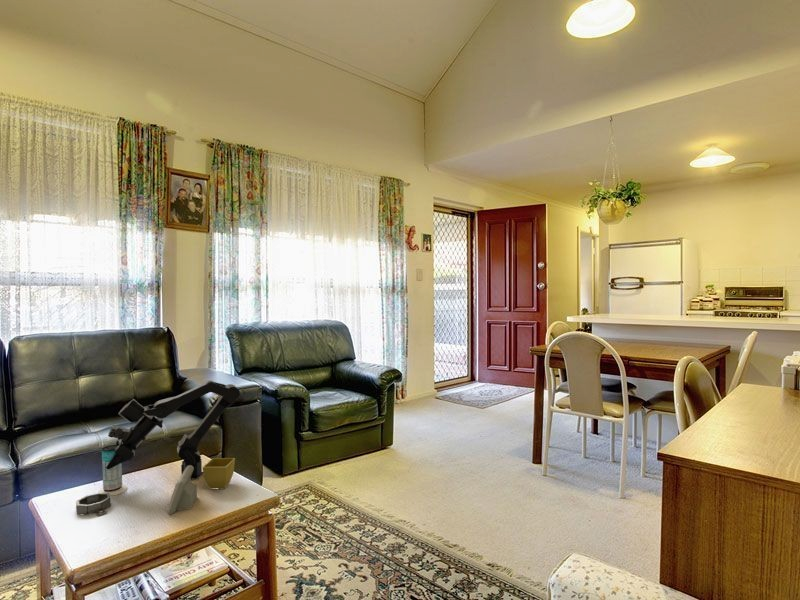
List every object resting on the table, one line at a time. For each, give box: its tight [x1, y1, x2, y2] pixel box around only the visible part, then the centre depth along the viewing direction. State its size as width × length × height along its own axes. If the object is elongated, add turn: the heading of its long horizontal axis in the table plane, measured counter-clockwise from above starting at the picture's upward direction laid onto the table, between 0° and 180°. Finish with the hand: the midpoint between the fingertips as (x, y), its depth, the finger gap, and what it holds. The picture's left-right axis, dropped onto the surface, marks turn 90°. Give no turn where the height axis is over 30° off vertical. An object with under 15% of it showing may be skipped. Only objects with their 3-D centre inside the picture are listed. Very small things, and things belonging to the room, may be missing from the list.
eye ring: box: [75, 492, 112, 517], centre depth 156 cm, size 15×10×3 cm
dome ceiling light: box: [97, 483, 128, 497], centre depth 170 cm, size 9×9×1 cm
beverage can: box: [101, 444, 123, 492], centre depth 170 cm, size 6×6×15 cm
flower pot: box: [202, 457, 236, 489], centre depth 172 cm, size 9×9×9 cm
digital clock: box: [166, 465, 198, 515], centre depth 158 cm, size 16×9×11 cm, turn 1°
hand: (107, 465), depth 169 cm, fingers closed on beverage can, 6 cm apart
